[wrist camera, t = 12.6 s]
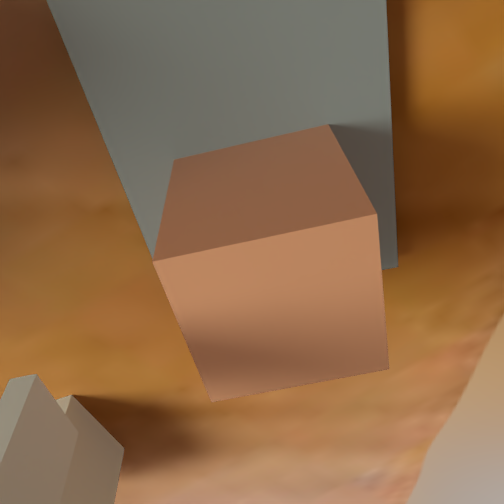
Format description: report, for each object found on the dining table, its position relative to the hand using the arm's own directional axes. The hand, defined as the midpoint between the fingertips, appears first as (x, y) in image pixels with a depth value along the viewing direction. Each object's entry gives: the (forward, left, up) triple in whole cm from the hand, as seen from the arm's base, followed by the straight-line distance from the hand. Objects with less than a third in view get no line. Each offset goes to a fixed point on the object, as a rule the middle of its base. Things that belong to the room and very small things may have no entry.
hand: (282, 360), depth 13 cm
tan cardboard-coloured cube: (0, 0, -9) cm, 9 cm away
